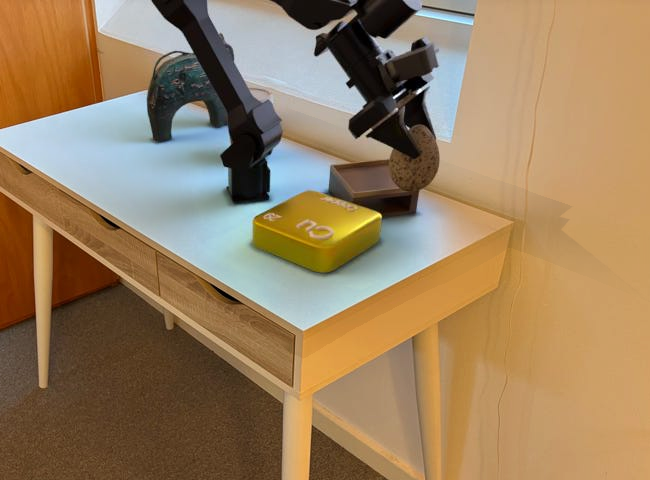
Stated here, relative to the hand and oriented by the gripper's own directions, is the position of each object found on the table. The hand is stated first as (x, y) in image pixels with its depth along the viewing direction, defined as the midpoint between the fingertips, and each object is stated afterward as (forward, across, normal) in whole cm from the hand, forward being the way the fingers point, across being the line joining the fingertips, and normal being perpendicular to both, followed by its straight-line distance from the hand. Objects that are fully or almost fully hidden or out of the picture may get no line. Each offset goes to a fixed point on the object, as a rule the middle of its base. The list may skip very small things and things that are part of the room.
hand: (425, 149), depth 105 cm
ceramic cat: (-29, +22, +49) cm, 61 cm away
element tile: (+2, -10, +18) cm, 21 cm away
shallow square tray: (+3, +7, +16) cm, 18 cm away
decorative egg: (+4, 0, +6) cm, 7 cm away
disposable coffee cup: (-17, +15, +37) cm, 43 cm away
